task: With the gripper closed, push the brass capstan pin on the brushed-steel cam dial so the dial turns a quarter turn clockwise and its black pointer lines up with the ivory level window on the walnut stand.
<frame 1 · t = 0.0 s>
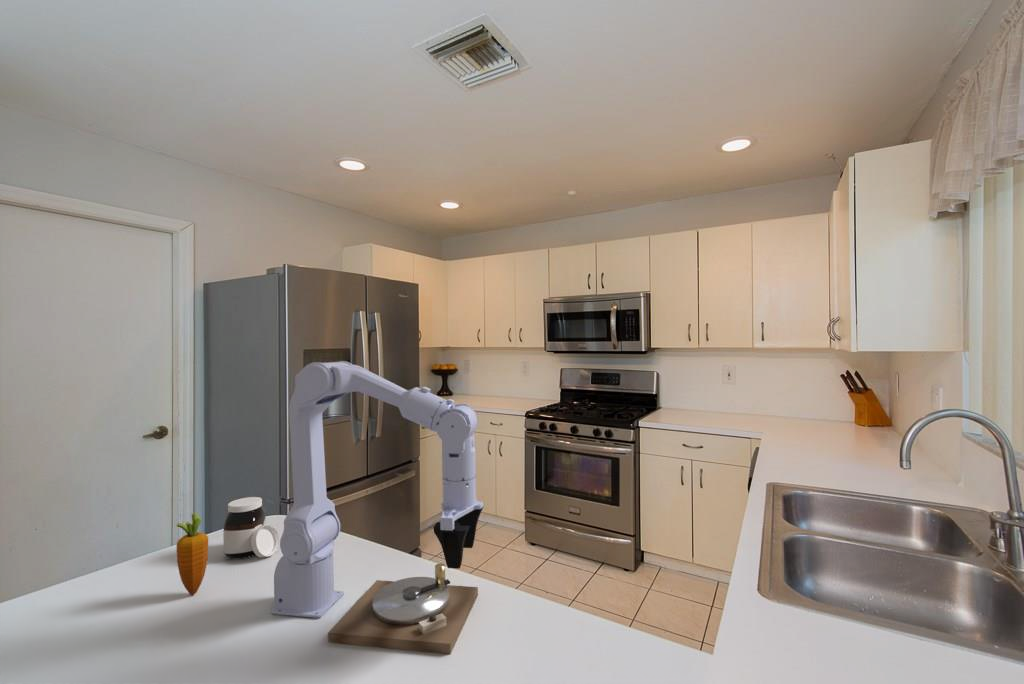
hand: (460, 556, 78), 10 cm above the countertop, tool pointing down, fingers open, 7 cm apart
carrot: (193, 595, 87), on the countertop
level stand: (409, 616, 78), on the countertop
spread jar: (253, 553, 105), on the countertop
cam dial: (413, 587, 80), point 4 cm above the countertop, hinge at 0.0°
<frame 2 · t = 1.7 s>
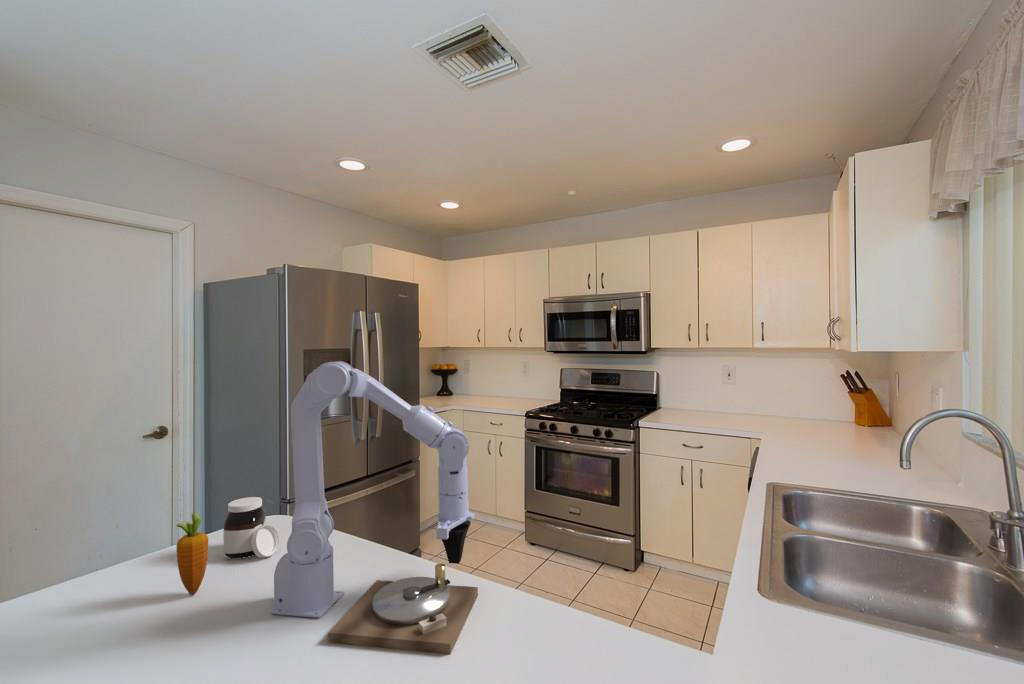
hand: (454, 561, 88), 4 cm above the countertop, tool pointing down, fingers closed
nothing on the countertop moved.
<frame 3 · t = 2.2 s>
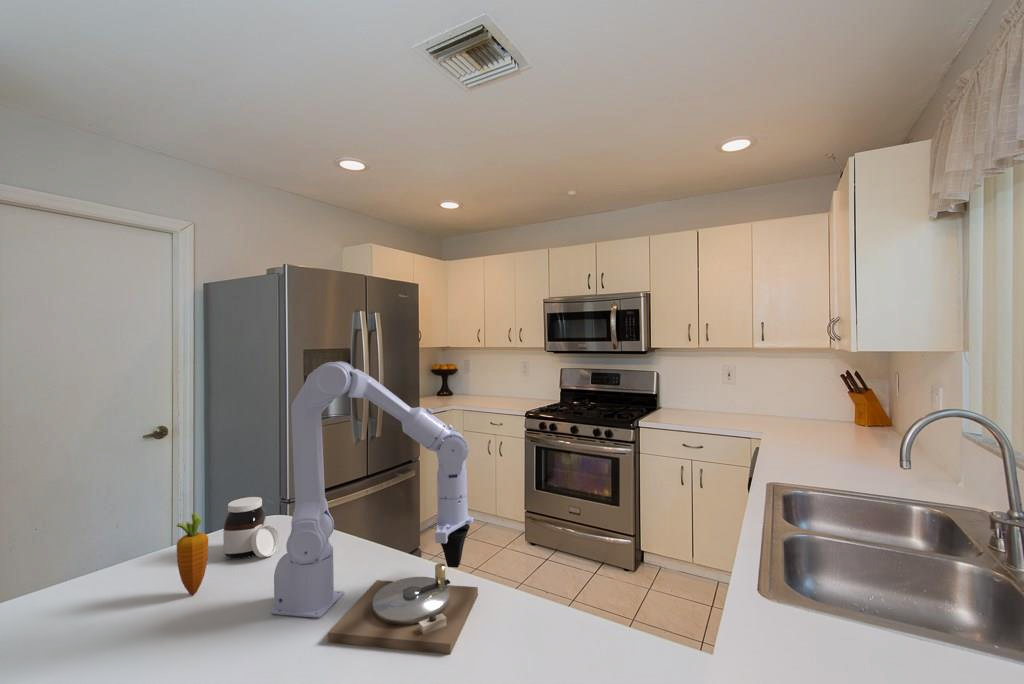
hand: (453, 565, 88), 4 cm above the countertop, tool pointing down, fingers closed
nothing on the countertop moved.
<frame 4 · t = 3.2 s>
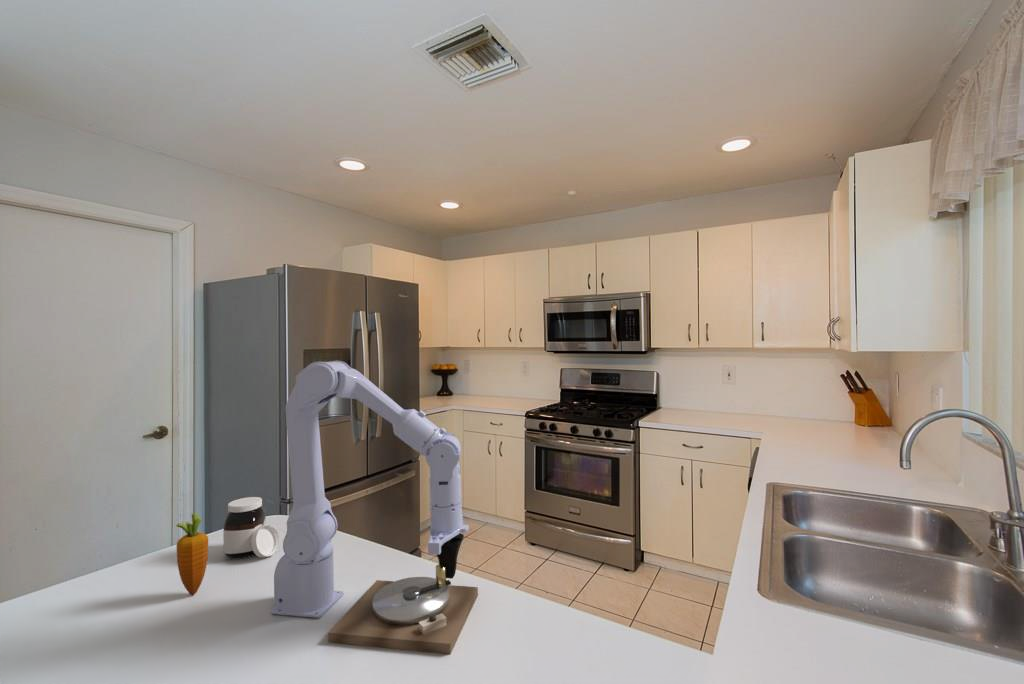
hand: (448, 576, 84), 4 cm above the countertop, tool pointing down, fingers closed, pressing on cam dial
cam dial: (413, 588, 80), point 4 cm above the countertop, hinge at -3.0°, touching gripper
everything else where it was.
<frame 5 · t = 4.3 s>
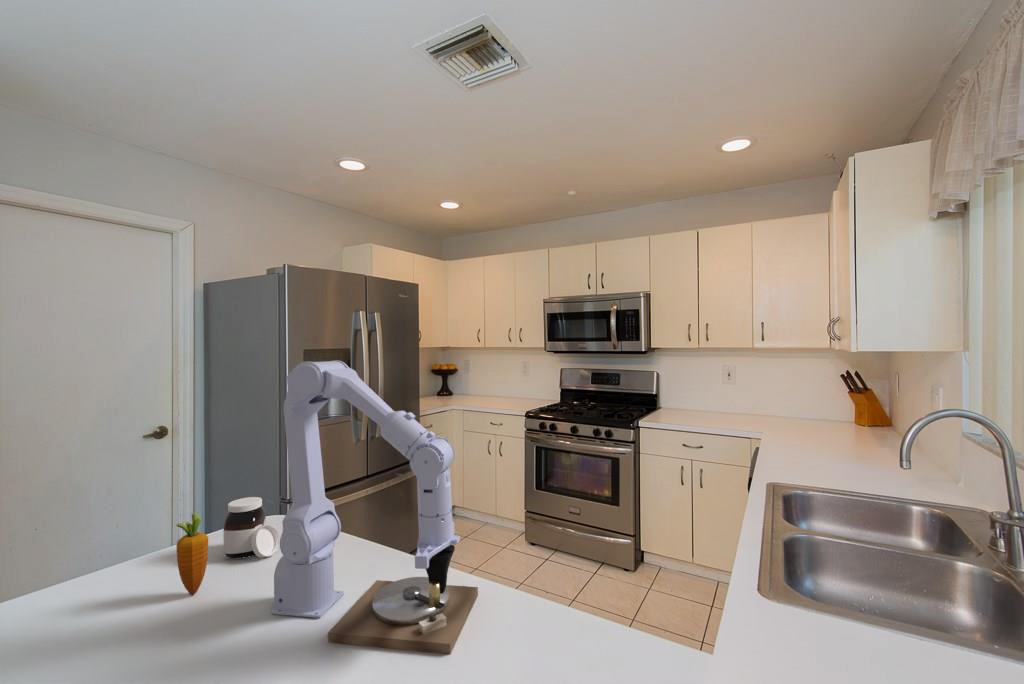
hand: (438, 591, 78), 4 cm above the countertop, tool pointing down, fingers closed, pressing on cam dial
cam dial: (412, 589, 79), point 4 cm above the countertop, hinge at -69.4°, touching gripper
everything else where it was.
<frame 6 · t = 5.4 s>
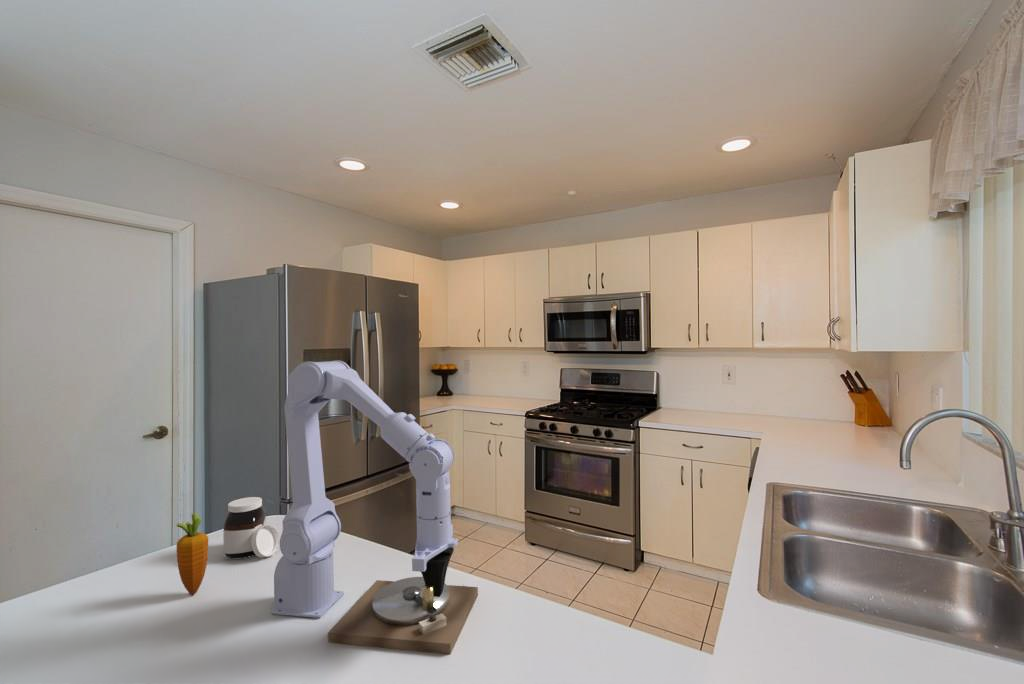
hand: (435, 594, 77), 4 cm above the countertop, tool pointing down, fingers closed
cam dial: (412, 589, 79), point 4 cm above the countertop, hinge at -83.4°
everything else where it was.
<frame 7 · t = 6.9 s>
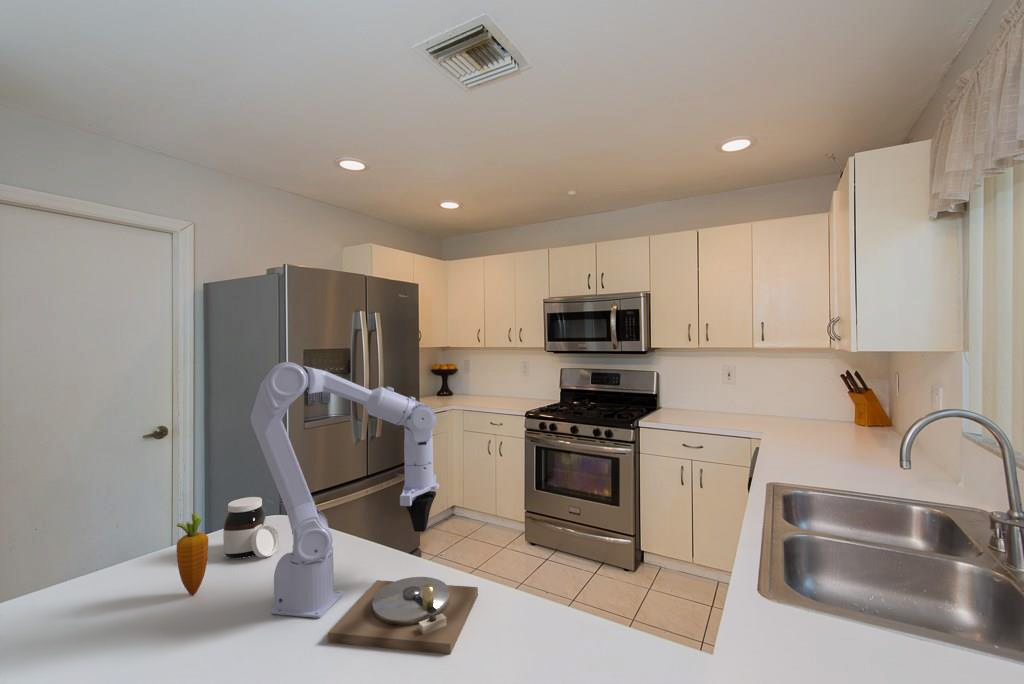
hand: (420, 530, 92), 9 cm above the countertop, tool pointing down, fingers closed
nothing on the countertop moved.
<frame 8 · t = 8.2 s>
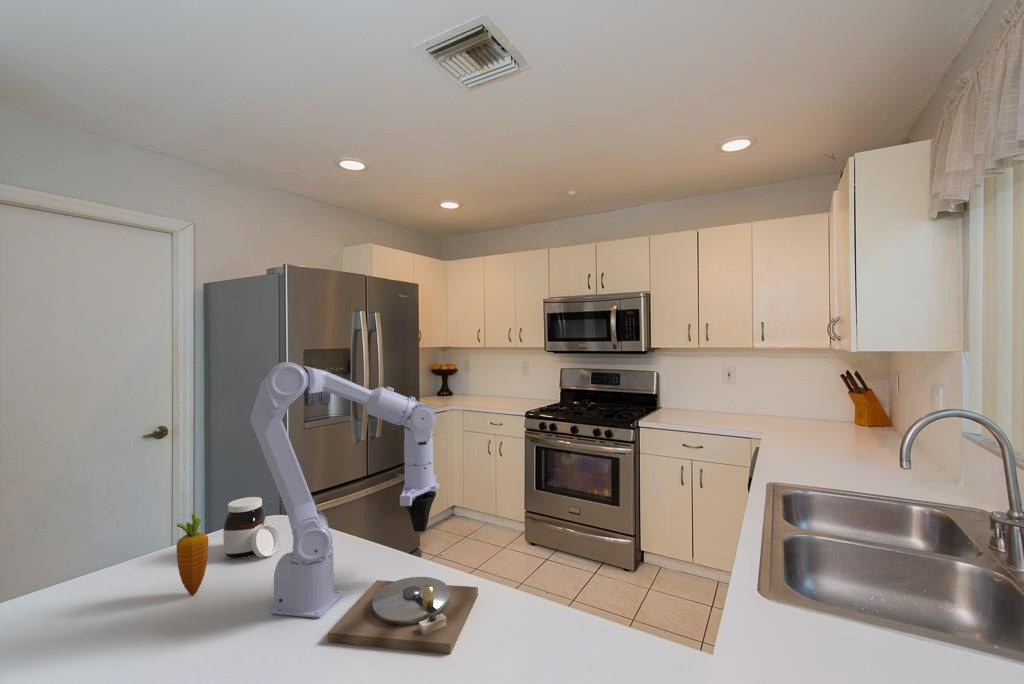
hand: (420, 530, 92), 9 cm above the countertop, tool pointing down, fingers closed
nothing on the countertop moved.
at the end: cam dial at -84° (first picture: +0°); carrot moved 0.2 cm from its start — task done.
